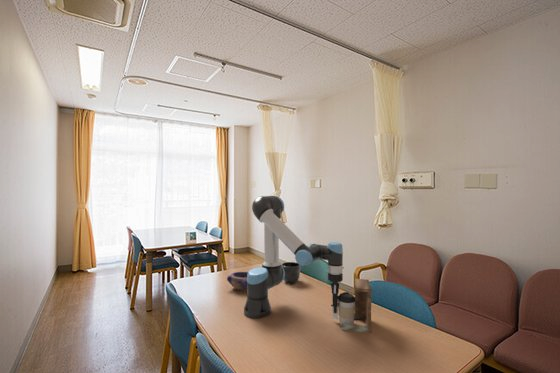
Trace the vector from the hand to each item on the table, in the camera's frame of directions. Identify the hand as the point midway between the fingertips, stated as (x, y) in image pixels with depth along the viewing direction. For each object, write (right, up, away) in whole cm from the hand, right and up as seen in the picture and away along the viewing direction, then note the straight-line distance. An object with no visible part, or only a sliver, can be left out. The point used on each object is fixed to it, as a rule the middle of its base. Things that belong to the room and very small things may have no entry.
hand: (335, 318), depth 145 cm
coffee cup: (+6, -2, -2) cm, 6 cm away
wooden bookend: (+9, -2, -2) cm, 9 cm away
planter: (-21, -2, +61) cm, 65 cm away
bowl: (-54, -2, +49) cm, 73 cm away
